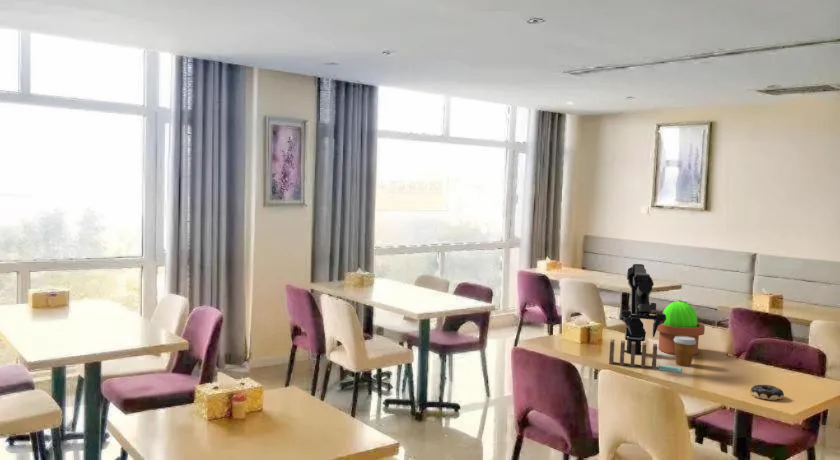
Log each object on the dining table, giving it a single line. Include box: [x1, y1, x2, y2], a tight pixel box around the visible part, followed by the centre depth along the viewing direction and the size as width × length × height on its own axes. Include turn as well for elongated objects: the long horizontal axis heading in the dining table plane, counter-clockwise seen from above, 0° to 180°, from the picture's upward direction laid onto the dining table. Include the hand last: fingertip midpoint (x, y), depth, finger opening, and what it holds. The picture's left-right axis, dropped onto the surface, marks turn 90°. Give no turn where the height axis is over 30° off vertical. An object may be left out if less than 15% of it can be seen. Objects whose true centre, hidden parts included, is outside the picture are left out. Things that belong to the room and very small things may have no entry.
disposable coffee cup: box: [674, 336, 696, 367], centre depth 314 cm, size 10×10×12 cm
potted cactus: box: [656, 300, 705, 356], centre depth 339 cm, size 22×22×25 cm
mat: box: [658, 364, 682, 373], centre depth 305 cm, size 9×8×1 cm
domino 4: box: [640, 342, 647, 369], centre depth 308 cm, size 2×5×10 cm, turn 162°
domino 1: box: [608, 339, 615, 366], centre depth 312 cm, size 2×5×10 cm, turn 162°
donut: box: [749, 384, 785, 401], centre depth 269 cm, size 11×12×4 cm
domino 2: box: [619, 340, 626, 366], centre depth 311 cm, size 2×5×10 cm, turn 162°
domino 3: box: [630, 342, 636, 368], centre depth 310 cm, size 2×5×10 cm, turn 162°
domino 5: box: [651, 343, 658, 370], centre depth 307 cm, size 2×5×10 cm, turn 162°
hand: (642, 335), depth 302 cm, fingers open, 9 cm apart
